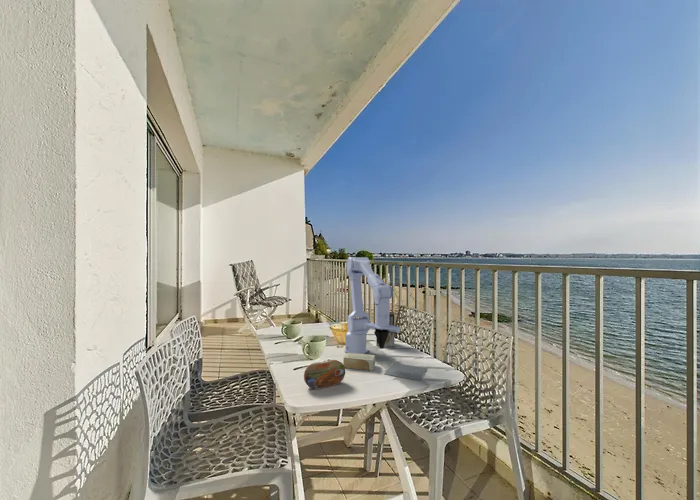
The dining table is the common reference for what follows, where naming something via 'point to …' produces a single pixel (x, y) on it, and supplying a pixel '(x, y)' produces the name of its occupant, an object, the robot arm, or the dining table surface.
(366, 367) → the skincare box
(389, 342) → the coffee box
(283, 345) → the dining table surface
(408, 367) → the mat
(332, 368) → the tin
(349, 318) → the robot arm
